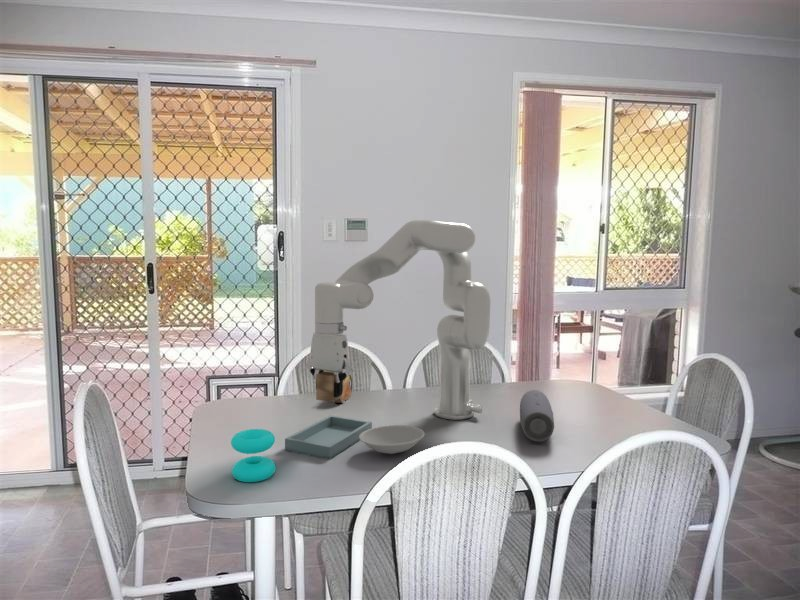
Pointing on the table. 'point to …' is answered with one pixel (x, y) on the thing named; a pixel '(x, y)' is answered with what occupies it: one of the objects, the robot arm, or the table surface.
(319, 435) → the tray
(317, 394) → the block
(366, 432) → the dish
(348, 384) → the tin
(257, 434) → the donuts
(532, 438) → the bluetooth speaker
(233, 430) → the table surface
